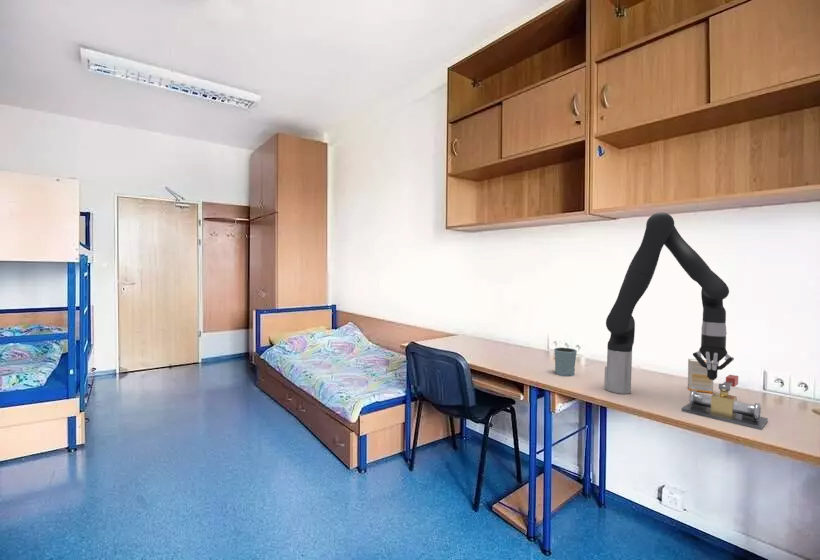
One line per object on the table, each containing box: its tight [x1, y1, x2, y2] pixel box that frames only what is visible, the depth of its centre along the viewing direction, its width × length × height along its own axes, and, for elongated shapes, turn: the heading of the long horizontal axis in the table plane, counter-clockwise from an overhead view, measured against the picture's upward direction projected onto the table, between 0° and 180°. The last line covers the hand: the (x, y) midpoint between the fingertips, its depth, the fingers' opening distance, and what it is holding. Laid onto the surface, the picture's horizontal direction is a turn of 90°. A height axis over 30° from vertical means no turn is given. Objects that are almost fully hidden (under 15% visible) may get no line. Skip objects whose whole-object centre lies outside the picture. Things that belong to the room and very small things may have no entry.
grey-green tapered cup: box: [553, 347, 577, 377], centre depth 197 cm, size 10×10×12 cm
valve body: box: [681, 389, 769, 431], centre depth 143 cm, size 22×12×9 cm, turn 41°
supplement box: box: [687, 358, 714, 394], centre depth 173 cm, size 8×5×13 cm, turn 66°
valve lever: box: [718, 374, 739, 392], centre depth 147 cm, size 16×3×3 cm, turn 131°
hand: (712, 379), depth 155 cm, fingers closed
